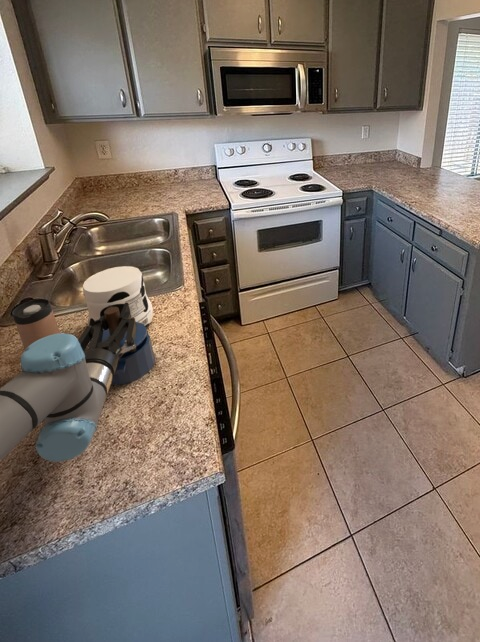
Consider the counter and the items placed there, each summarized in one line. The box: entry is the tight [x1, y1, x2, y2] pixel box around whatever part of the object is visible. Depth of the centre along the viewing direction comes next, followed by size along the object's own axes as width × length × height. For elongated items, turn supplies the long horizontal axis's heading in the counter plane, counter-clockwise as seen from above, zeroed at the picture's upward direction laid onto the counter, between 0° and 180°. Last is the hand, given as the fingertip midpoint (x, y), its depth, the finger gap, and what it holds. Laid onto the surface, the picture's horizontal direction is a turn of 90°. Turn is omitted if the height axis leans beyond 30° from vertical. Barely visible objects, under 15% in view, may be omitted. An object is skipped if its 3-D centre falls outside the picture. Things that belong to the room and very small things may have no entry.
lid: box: [87, 307, 148, 354], centre depth 87 cm, size 13×13×9 cm
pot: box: [111, 332, 156, 386], centre depth 94 cm, size 12×17×8 cm
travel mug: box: [11, 298, 61, 350], centre depth 92 cm, size 8×8×20 cm
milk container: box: [82, 265, 154, 330], centre depth 108 cm, size 17×17×18 cm
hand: (119, 308), depth 91 cm, fingers closed on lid, 3 cm apart
